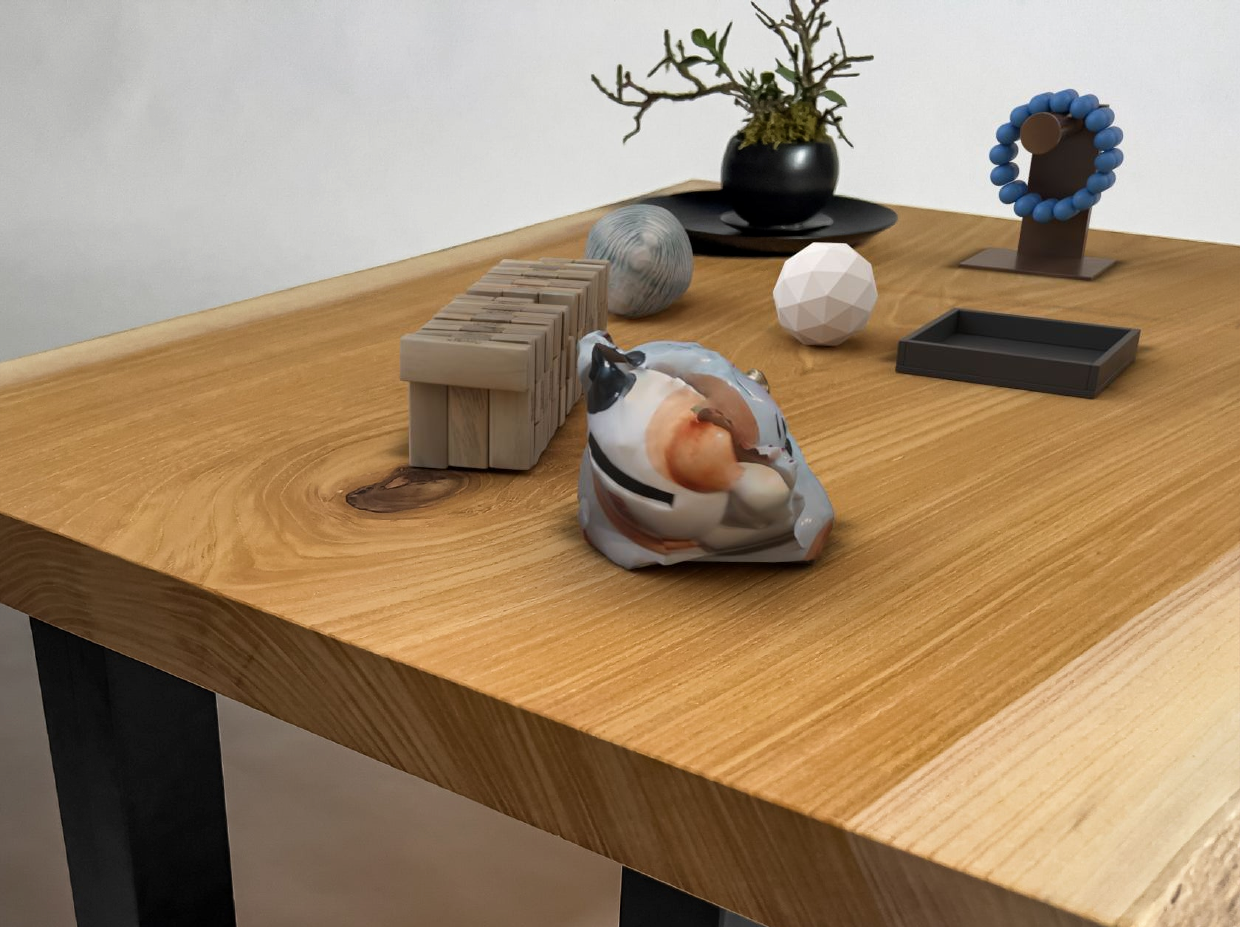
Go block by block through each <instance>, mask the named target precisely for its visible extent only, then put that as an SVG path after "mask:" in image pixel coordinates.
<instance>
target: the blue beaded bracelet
mask: <svg viewBox="0 0 1240 927" xmlns="http://www.w3.org/2000/svg"><path fill="white" fill-rule="evenodd" d="M1099 104H1100V99H1099V97H1098V96H1097V95H1095V94H1093V93H1087V94H1084V95H1081V96H1080V94H1079V93H1078V91H1077V90H1076V89H1074V88H1066V89H1062V90H1060V91H1056V92H1055V93H1054V92H1052V91H1047V92H1043V93H1039V94H1037V95H1035V96H1033V97H1032V98H1031V99H1030V100H1029V102H1028V103H1024V104H1022V105H1019V106H1016V107H1014V108H1013V109H1012V110H1011V111H1010V114H1009V122H1005V123H1003V124H1001V125H1000V126H999V127H998V128H997V129H996V131H995V138H996V140H997V142H998V144H996V145H993V146H992V148H990V150H989V153H988V158H989V161H990V162H991V163H992V165H995V167H994V168H993V169H992V170H991V172H990V174H989V179H990V182H991V184H992V185H993V186H995V187H1001V188H1000V189H999V191H998V199H999V201H1000V202H1001V203H1002V204H1004V205H1012V204H1013V212H1014V214H1015V215H1016V216H1017V217H1019V218H1022V217H1027V216H1029V215H1031V214H1033V218H1034V220H1035V221H1036V222H1038V223H1046V222H1048V221H1050V220H1051V219H1053V218H1056V219H1058V220H1060V221H1065V220H1068V219H1070V218H1071V217H1073V216H1075V215H1077V214H1078V213H1079V212H1080V211H1083V210H1086V209H1088V208H1090V207H1092V208H1093V207H1094V206H1096V205H1097V204H1098V203H1099V202H1100V201H1101V198H1102V193H1103V192H1105V191H1107V190H1109V189H1111V188H1112V187H1113V186H1114V185H1115V183H1116V180H1117V176H1116V173H1115V171H1114V170H1116V169H1117V168H1119V167H1120V166H1121V165H1122V164H1123V162H1124V158H1125V154H1124V153H1123V151H1122V150H1121V149H1120V148H1118V146H1119V145H1120V144H1121V143H1122V142H1123V139H1124V132H1123V129H1121V128H1120V127H1119V126H1115V125H1113V123H1114V121H1115V119H1116V118H1115V117H1116V116H1115V112H1114V110H1113V109H1112V108H1110V107H1109V108H1107V107H1103V108H1100V109H1098V107H1099ZM1069 110H1070V114H1071V115H1072V116H1073V117H1074V118H1077V119H1081V118H1084V117H1086V120H1085V125H1086V128H1087V129H1088V130H1089V131H1091V132H1098V131H1100V132H1098V133H1097V134H1096V136H1095V138H1094V145H1095V147H1096V148H1097V149H1098V150H1100V151H1102V153H1100V154H1099V155H1098V156H1097V157H1096V159H1095V163H1094V164H1095V168H1096V169H1097V171H1098V172H1096V173H1094V174H1092V175H1091V176H1090V177H1089V178H1088V180H1087V187H1085V188H1083V189H1081V190H1079V191H1078V192H1076V193H1075V195H1074V196H1069V197H1067V198H1065V199H1063V200H1061V201H1059V200H1057V199H1055V198H1050V199H1047V200H1045V201H1043V200H1042V197H1041V196H1040V195H1039V194H1038V193H1029V194H1027V192H1028V186H1027V184H1028V183H1027V182H1026V181H1024V180H1022V179H1018V177H1019V176H1020V167H1019V165H1018V164H1017V163H1016V162H1014V160H1016V158H1017V157H1018V156H1019V149H1020V148H1019V146H1018V144H1017V143H1016V142H1018V141H1021V140H1020V132H1021V128H1022V126H1023V124H1024V122H1025V121H1026V120H1027V119H1028V118H1029V117H1030V116H1032V115H1034V114H1036V113H1041V112H1046V113H1051V112H1055V113H1063V112H1066V111H1069ZM1105 128H1106V129H1105ZM1103 129H1104V130H1103ZM1026 194H1027V195H1026Z"/></svg>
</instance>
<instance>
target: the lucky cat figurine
mask: <svg viewBox="0 0 1240 927" xmlns="http://www.w3.org/2000/svg"><path fill="white" fill-rule="evenodd" d="M614 342H615V341H613V339H612V336H611V335H610V333H609V332H608V331H607V332H603V331H600V330H598V331H595V332H593V333H590V334H587V335H586V336H585V337H583V338H582V339H581V340H578V343H577V348H576V350H577V352H578V354H579V358H578V362H577V371H578V376H579V379H580V382H581V384H582V386H583V394H582V395H583V398H584V399H583V400H584V404H585V405H586V425H587V426H586V427H587V435H586V436H587V444H586V445H585V448H584V451H583V452H582V455H581V459H580V467H579V474H578V480H577V493H576V494H577V496H576V498H577V500H578V511H577V515H576V520H577V522H578V525H579V529H580V533H581V534H580V535H581V538H582V540H583V541H585V542H587V543H588V544H590V545H591V546H592V547H593V548H595V549H596V550H598V551H599V552H601V553H602V554H603V555H605V556H606V557H607V558H608V559H609V560H611V561H612V562H613V563H615V564H617V565H618V566H621V567H623V568H624V569H625V570H634V569H639V568H644V567H649V566H653V565H659V564H660V565H663V566H669V565H673V564H678V563H681V562H732V563H733V562H738V563H791V564H808V565H812V566H813V565H815V564H816V563H817V561H818V560H819V558H820V555H821V554H822V550H823V548H824V546H825V543H826V542H827V540H828V538H829V536H830V534H831V533H832V531H833V529H834V521H835V510H834V507H833V504H832V502H831V499H830V498H829V495H828V493H827V491H826V489H825V487H824V486H823V484H822V482H821V481H820V479H819V478H818V477H817V476H816V475H815V474H814V472H813V470H811V469H812V468H811V467H810V466H809V464H808V463H807V461H806V458H805V455H804V454H803V452H802V449H801V446H799V444H798V442H797V441H796V438H795V437H794V436H793V435H792V434H791V432H790V430H789V425H788V421H787V419H786V417H785V416H784V413H783V411H782V410H781V408H780V407H779V405H778V404H777V403H776V401H775V400H774V399H773V398H772V397H771V395H770V393H771V392H770V391H771V390H770V388H771V387H770V385H769V382H768V381H769V380H767V378H766V376H765V374H764V373H763V371H761V370H759V369H757V368H749V369H747V370H745V371H743V372H742V371H741V370H740V369H739V368H738V367H737V366H736V365H735V363H733V362H730V361H729V360H728V359H727V358H726V357H724V356H723V355H721V353H720V352H718V351H715V350H710V349H707V348H706V347H704V346H702V345H701V344H700V343H698V342H693V341H690V342H688V341H676V340H656V341H654V340H653V341H649V342H645V343H643V344H639V345H636V346H634V347H633V348H631V349H629V350H623V349H621V348H619V347H618V346H617V345H616V343H614Z"/></svg>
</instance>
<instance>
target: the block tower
mask: <svg viewBox="0 0 1240 927" xmlns="http://www.w3.org/2000/svg"><path fill="white" fill-rule="evenodd" d="M609 279H610V261H609V260H598V259H585V258H577V259H575V260H574V259H573V258H561V257H545V256H543V257H540V258H539V259H537V260H524V259H513V258H512V259H511V258H503V259H502V260H500V262H499V263H498V264H497V265H494V266H492V267H491V268H490V269H489V270H487V272H486V273H485V274H484V275H482V276H481V278H480V279H479V280H477V281H476V282H474V283H473V284H471V285H470V287H468V288H467V289H466V290H465V294H461V293H460V294H458V295H456V296H455V297H454V299H453V300H452V301H451V302H450V303H448V304H446V305H445V306H442V307H441V308H440V309H438V311H437V313H435V314H434V315H433V316H432V317H431V319H430V320H428V321H426V323H425V324H423V326H421V327H420V328H419V329H418V330H416V331H414V333H405V334H403V336H401V338H400V339H399V375H398V376H399V381H401V382H407V383H408V384H407V385H408V386H407V388H408V389H407V391H408V453H409V454H408V460H409V461H408V462H409V464H408V465H409V466H410V467H413V468H414V467H415V468H429V469H442V470H443V469H444V470H445V469H447V468H449V467H450V466H451V467H458V468H459V467H460V468H470V469H484V470H486V469H489V468H494V469H503V470H504V469H505V470H519V471H528V470H530V469H531V468H532V467H534V466H535V465H536V464H537V463H538V461H539V459H540V456H541V455H542V453H543V452H544V451H545V450H546V449H547V447H548V444H549V443H550V441H551V439H552V438H553V437H554V436H555V432H556V431H557V428H558V427H562V426H563V424H564V423H565V420H566V416H567V415H569V413H570V412H571V410H572V408H573V407H574V405H576V404H577V403H578V401H579V399H580V398H581V396H582V395H584V394H583V386H582V384H581V382H580V379H579V376H578V371H577V362H578V358H579V354H578V352H577V350H576V348H577V343H578V340H581V339H582V338H583V337H585V336H586V335H587V334H590V333H593V332H595V331H598V330H600V331H603V332H608V331H607V330H608V314H609V313H608V297H609Z"/></svg>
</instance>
